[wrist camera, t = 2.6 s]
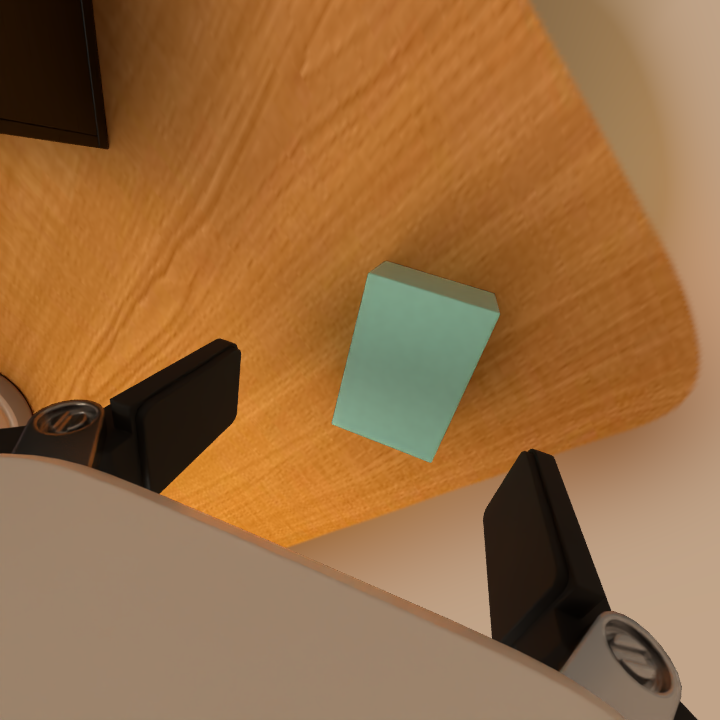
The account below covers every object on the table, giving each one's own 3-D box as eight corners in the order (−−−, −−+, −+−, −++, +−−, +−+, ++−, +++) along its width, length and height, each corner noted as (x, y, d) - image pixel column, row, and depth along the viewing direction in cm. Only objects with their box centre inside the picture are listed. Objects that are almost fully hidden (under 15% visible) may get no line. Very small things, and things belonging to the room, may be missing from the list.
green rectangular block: (495, 293, 14) (501, 313, 12) (436, 425, 18) (431, 463, 15) (385, 260, 15) (368, 272, 12) (350, 393, 19) (330, 424, 16)
